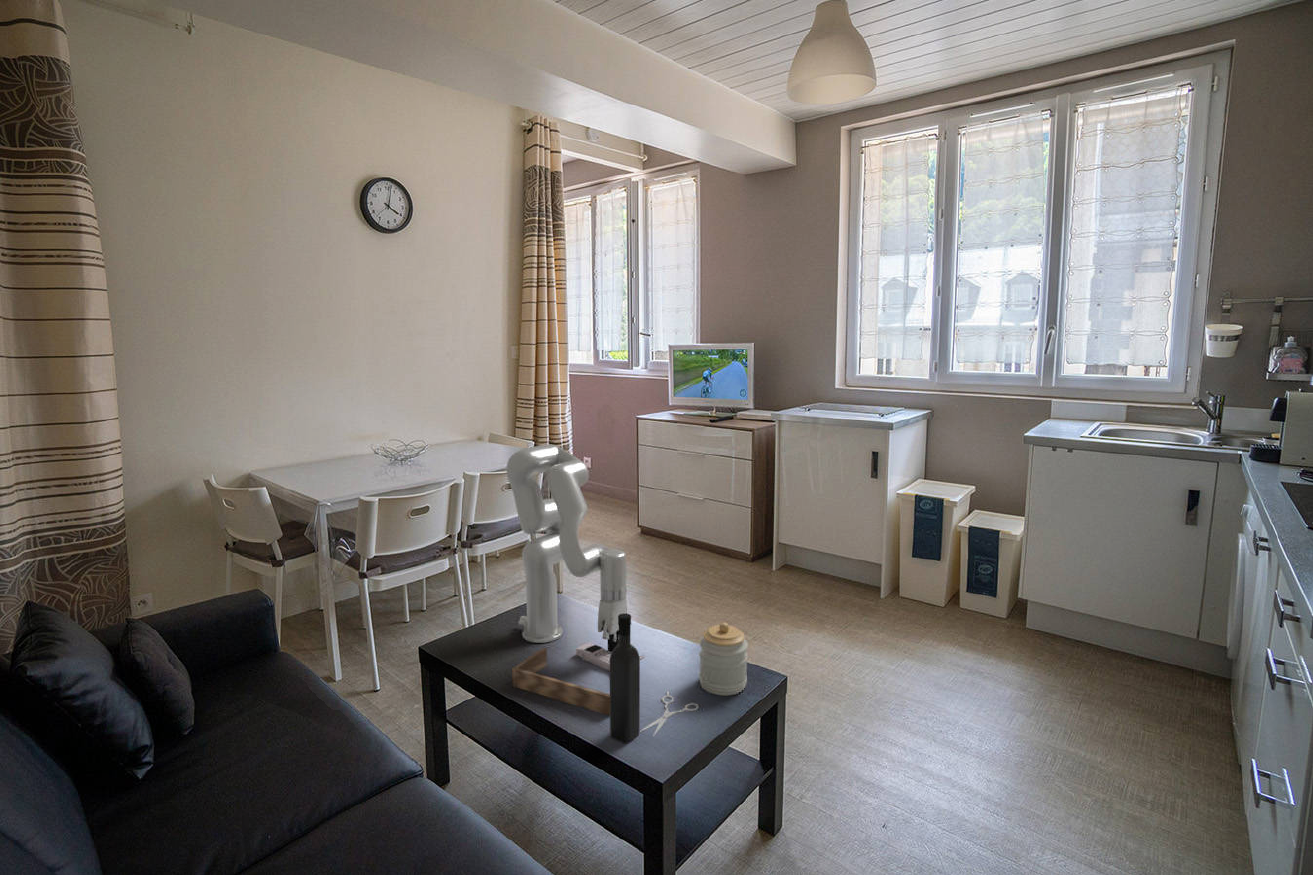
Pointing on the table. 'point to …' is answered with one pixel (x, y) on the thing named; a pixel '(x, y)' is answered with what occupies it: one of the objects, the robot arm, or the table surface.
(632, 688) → the wine bottle
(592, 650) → the mobile phone
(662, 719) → the scissors
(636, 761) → the table surface
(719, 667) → the jar
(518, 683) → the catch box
